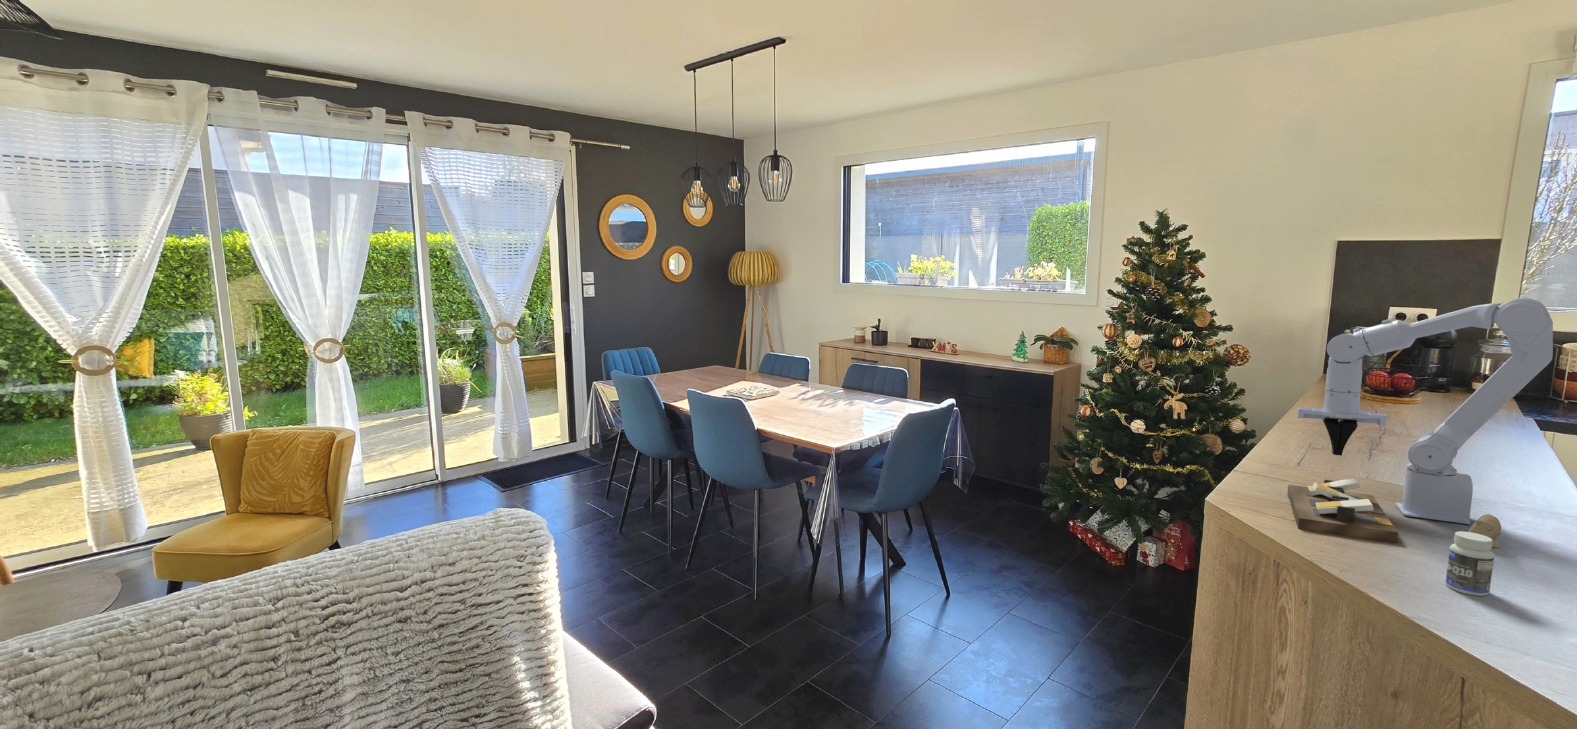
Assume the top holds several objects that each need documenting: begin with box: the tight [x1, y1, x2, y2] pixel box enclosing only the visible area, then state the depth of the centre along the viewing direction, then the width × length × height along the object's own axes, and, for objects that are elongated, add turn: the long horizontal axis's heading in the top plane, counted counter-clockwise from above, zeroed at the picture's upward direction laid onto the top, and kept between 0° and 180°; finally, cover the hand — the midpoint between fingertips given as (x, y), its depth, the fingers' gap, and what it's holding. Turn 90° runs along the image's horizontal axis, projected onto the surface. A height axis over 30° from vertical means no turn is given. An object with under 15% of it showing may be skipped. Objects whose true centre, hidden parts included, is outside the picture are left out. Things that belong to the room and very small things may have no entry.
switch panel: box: [1286, 479, 1399, 544], centre depth 133 cm, size 14×24×5 cm, turn 148°
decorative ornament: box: [1467, 513, 1502, 549], centre depth 118 cm, size 4×8×5 cm, turn 125°
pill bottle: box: [1445, 530, 1495, 597], centre depth 101 cm, size 5×5×8 cm
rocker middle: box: [1312, 481, 1358, 500], centre depth 132 cm, size 8×4×1 cm, turn 58°
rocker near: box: [1316, 499, 1374, 514], centre depth 127 cm, size 8×4×1 cm, turn 57°
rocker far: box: [1307, 477, 1361, 496], centre depth 138 cm, size 8×4×1 cm, turn 58°
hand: (1336, 454), depth 143 cm, fingers closed
